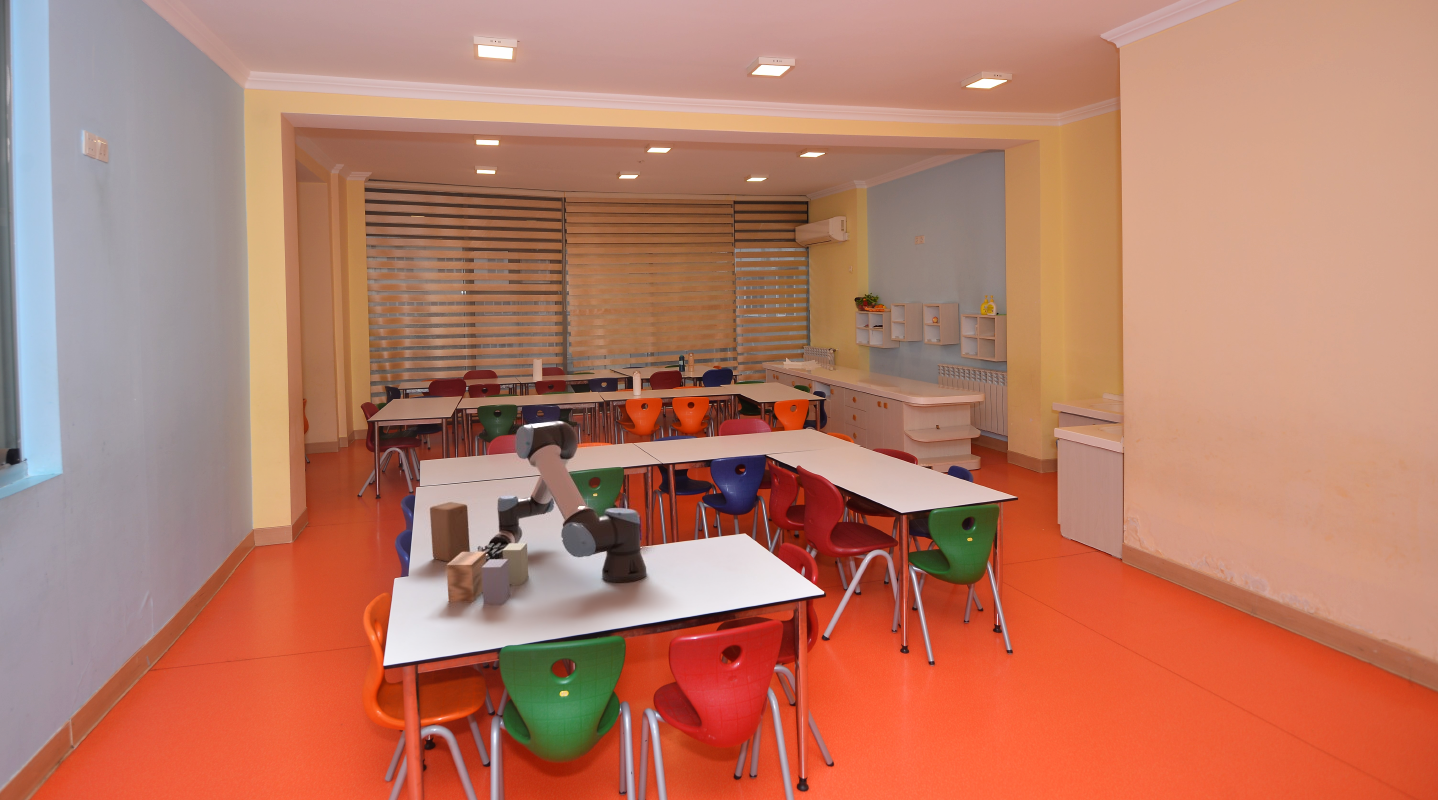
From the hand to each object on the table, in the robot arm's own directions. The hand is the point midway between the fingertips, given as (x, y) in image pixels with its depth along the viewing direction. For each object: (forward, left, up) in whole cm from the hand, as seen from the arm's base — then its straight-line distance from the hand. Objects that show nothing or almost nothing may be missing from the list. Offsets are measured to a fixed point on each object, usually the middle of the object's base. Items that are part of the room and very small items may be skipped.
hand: (480, 563), depth 267 cm
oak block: (-3, +13, -6) cm, 15 cm away
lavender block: (-15, +17, -6) cm, 23 cm away
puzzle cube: (-36, -49, -6) cm, 61 cm away
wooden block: (+24, -23, -6) cm, 34 cm away
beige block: (-13, -1, -6) cm, 14 cm away
